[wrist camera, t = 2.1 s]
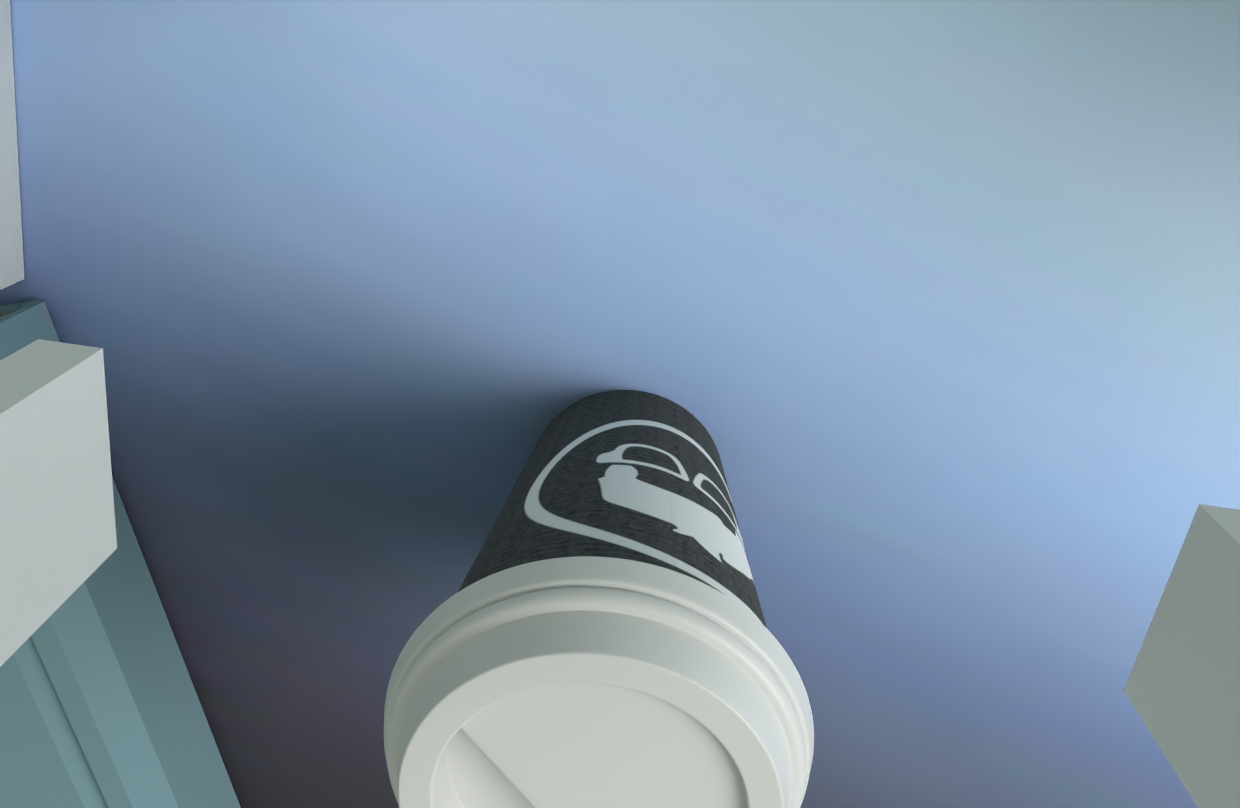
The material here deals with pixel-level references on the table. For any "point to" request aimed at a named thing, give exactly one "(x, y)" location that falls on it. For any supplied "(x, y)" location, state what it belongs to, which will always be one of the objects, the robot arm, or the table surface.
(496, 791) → the coffee cup
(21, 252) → the plate
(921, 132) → the table surface
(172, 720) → the book
